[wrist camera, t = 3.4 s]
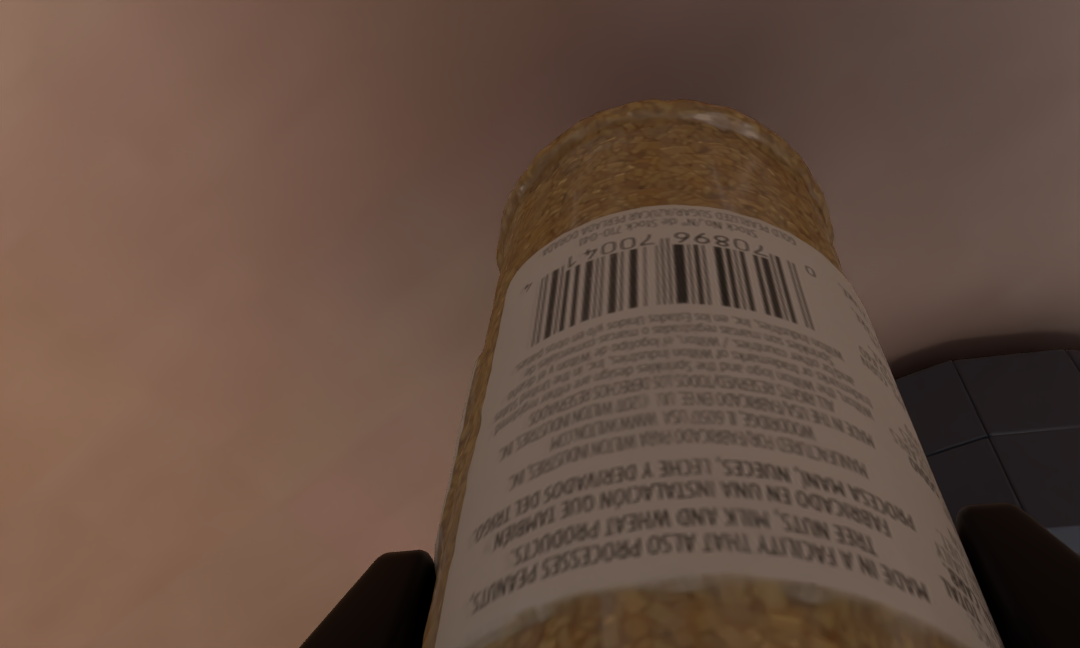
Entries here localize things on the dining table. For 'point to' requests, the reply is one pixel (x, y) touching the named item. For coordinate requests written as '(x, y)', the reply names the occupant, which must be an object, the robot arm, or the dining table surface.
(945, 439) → the bowl
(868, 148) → the dining table surface
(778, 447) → the sprinkles bottle
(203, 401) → the dining table surface
